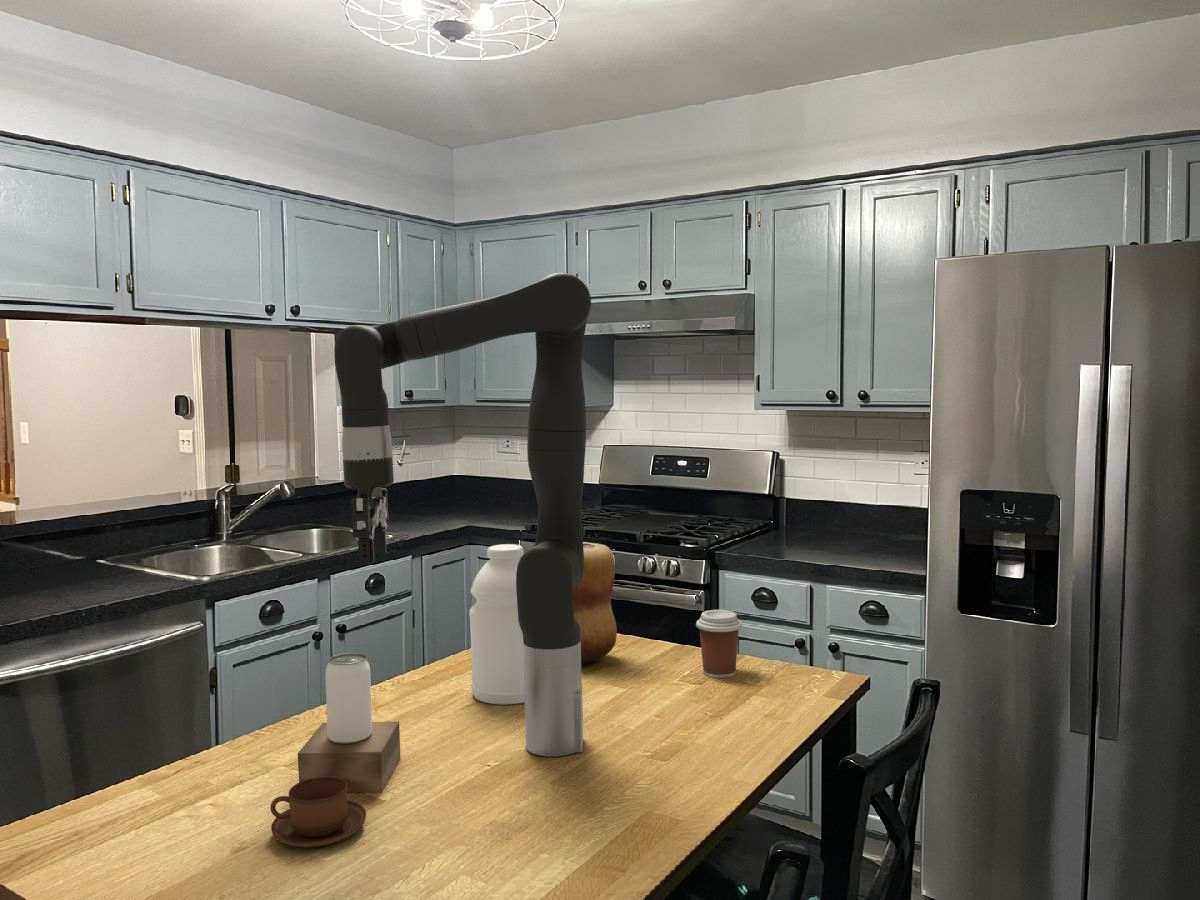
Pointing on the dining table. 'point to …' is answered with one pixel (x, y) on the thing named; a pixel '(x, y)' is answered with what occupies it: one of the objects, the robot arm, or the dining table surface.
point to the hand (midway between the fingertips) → (373, 558)
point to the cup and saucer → (317, 814)
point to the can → (348, 698)
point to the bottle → (497, 629)
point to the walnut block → (353, 758)
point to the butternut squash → (595, 603)
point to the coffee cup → (719, 642)
